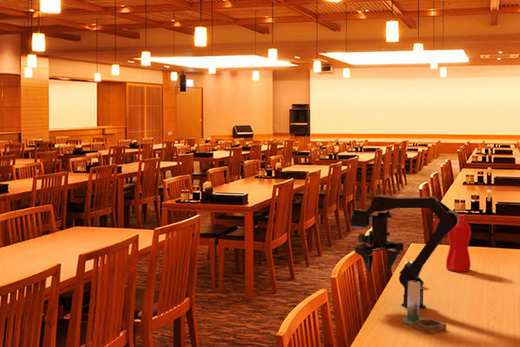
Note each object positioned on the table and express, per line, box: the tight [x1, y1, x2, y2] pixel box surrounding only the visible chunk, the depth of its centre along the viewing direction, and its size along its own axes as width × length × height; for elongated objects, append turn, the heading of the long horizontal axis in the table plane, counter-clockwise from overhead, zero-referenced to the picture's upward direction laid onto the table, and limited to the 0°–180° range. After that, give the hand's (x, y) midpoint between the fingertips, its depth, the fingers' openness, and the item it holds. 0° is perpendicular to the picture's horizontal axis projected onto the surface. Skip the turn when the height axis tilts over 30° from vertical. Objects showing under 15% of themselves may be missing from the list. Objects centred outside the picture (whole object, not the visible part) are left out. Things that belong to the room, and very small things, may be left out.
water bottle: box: [445, 213, 472, 273], centre depth 288 cm, size 9×11×25 cm
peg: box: [406, 280, 421, 321], centre depth 217 cm, size 4×4×13 cm
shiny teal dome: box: [402, 316, 423, 326], centre depth 218 cm, size 7×7×1 cm
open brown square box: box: [412, 317, 447, 335], centre depth 211 cm, size 8×8×2 cm
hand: (379, 270), depth 239 cm, fingers open, 9 cm apart
